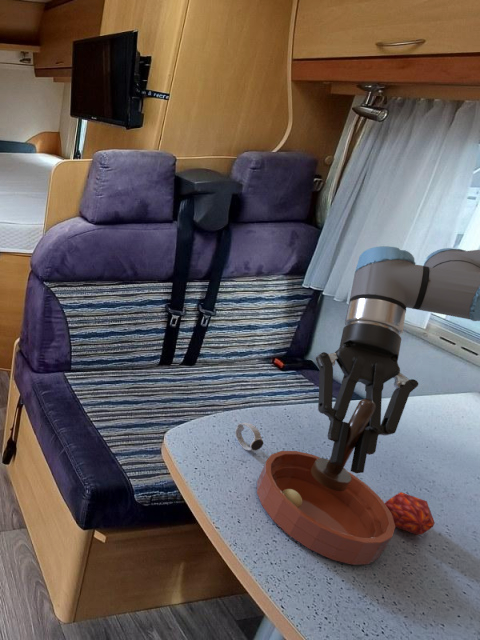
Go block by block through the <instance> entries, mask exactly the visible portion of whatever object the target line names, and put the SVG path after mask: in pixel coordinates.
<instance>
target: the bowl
mask: <svg viewBox="0 0 480 640" xmlns="http://www.w3.org/2000/svg"><path fill="white" fill-rule="evenodd" d="M319 458H321V457H320V456H317V455H314V454H312V453H307V452H302V451H298V450H280V451H278V452H275V453H271V455H269V457H268V458H267V460H265V463H264V465H263V467H262V469H261V472H260V474H259V475H258V479H257V480H256V494H257V497H258V500H259V502H260V504H261V506H262V507H263V509H264V510H265V512H266V513H267V514H268V516H269V517H270V518H271V520H272V521H273V522H274V523H275V524H276V525H277V526H278V527H280V529H282V530H283V532H285V533H286V534H287V535H288V536H289V537H291V538H292V539H293V540H295V541H297V542H298V543H299V544H301V545H302V546H304V547H306V548H307V549H308V550H310V551H313V552H315V553H317V554H319V555H321V556H324V557H325V558H328V559H329V560H333V561H336V562H340V563H345V564H348V565H353V566H354V565H369V564H371V563H373V562H375V561H376V560H378V559H380V557H381V556H382V554H383V553H384V551H385V549H386V548H387V546H388V544H389V543H390V541H391V539H392V538H393V536H394V532H395V530H396V527H395V523H394V520H393V517H392V514H391V512H390V510H389V509H388V507H387V506H386V505H385V502H384V500H383V499H382V497H381V496H380V495H378V494H377V493H376V492H375V491H374V490H373V489H372V488H371V487H370V486H369V485H368V484H367V483H366V482H364V481H363V480H361V479H360V478H359V477H357V476H356V475H355V474H354V473H352V472H351V471H348V470H347V471H348V472H349V474H350V475H351V481H350V483H349V485H348V487H347V489H346V490H345V491H334V490H331V489H329V488H327V487H325V486H323V485H322V484H320V483H319V482H318V481H317V480H316V479H315V478H314V477H313V476H312V474H311V468H312V466H313V464H314V462H315V460H316V459H319ZM285 489H292V490H295V491H296V492H298V493H299V494H300V496H301V498H302V505H301V506H300V507H299V508H297V507H296V506H295V505H294V504H293V503H291V502H290V501H289V500H288V499H287V498H286V497H285V496H284V494H283V493H282V491H283V490H285Z"/></svg>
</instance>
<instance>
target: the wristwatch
mask: <svg viewBox="0 0 480 640" xmlns="http://www.w3.org/2000/svg"><path fill="white" fill-rule="evenodd" d="M244 426H246V427H248V429H249V430H251V432H252V433H253V436H254V437H253V439H252V441H251V442H250V445H248V444H247V443H246V441H245V440H244V437H243V435H242V432H243V431H244V430H245V427H244ZM234 435H235V438H236V441H237V442H238V444H239V445H240V447H241V448H242V449H243V450H245V451H258V450H260V449H261V448H262V447H263V445H264V440H263V437H262V436H261V432H260V431H259V429H258V428H257V427H256V426H255V425H254V424H252V423H249V422H239V423H238V424H237V425H236V426H235V431H234Z"/></svg>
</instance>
